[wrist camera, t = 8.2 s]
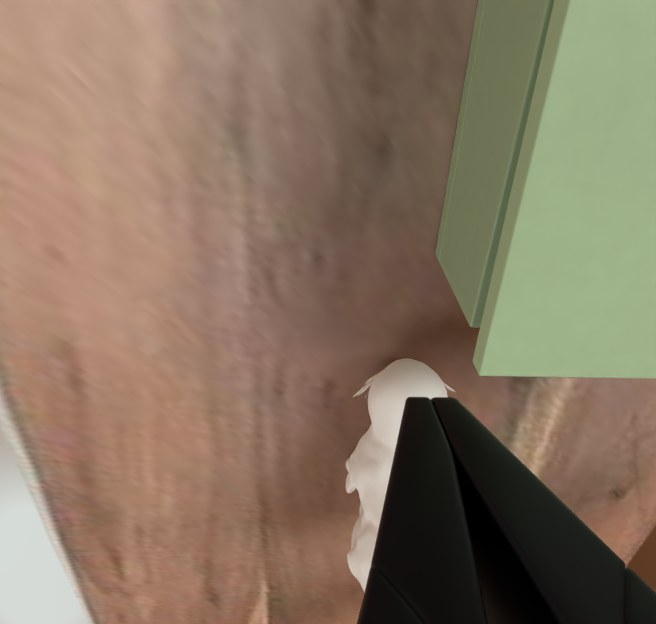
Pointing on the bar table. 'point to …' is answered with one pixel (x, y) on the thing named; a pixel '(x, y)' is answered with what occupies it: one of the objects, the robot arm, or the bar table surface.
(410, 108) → the bar table surface
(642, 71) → the lid
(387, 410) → the white animal figurine
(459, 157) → the box
